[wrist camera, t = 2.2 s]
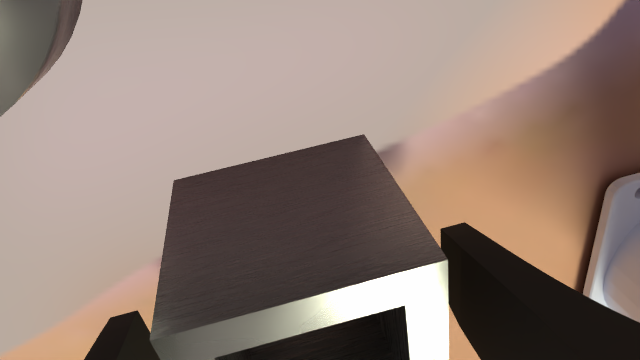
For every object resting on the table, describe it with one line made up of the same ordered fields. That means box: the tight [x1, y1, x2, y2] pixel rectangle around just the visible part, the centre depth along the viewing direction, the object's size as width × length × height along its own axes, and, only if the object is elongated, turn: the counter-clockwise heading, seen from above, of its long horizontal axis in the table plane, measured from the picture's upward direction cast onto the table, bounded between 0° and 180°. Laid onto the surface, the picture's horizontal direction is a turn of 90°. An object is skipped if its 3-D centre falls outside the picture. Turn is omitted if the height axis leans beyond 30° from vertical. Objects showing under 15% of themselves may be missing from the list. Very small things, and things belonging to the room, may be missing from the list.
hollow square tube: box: [150, 135, 449, 360], centre depth 11 cm, size 5×5×5 cm
